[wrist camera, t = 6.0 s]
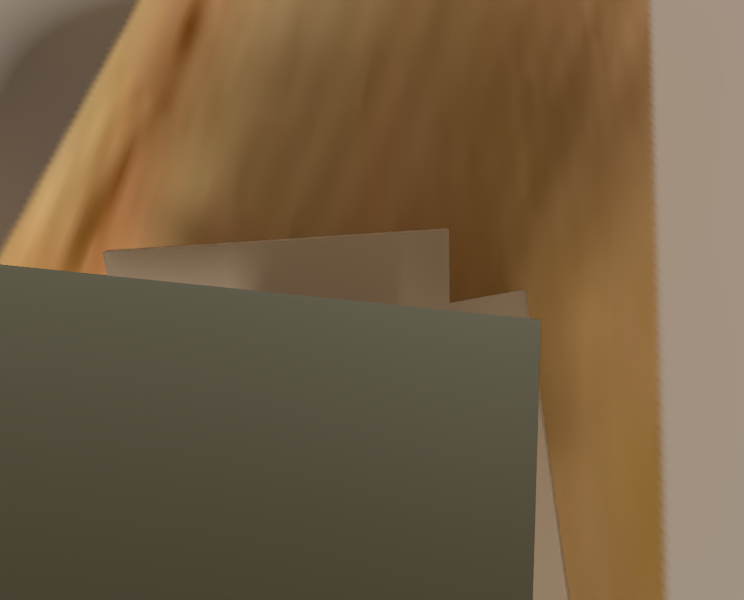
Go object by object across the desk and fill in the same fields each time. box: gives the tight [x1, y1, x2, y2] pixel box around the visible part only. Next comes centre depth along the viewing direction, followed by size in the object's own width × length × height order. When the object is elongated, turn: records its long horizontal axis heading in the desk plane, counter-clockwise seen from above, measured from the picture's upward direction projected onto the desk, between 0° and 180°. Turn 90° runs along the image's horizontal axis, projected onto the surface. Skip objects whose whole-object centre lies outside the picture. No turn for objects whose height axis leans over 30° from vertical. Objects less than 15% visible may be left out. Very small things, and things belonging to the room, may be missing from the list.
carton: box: [103, 228, 570, 600], centre depth 17 cm, size 12×14×5 cm
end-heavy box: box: [0, 265, 541, 600], centre depth 9 cm, size 5×5×13 cm
